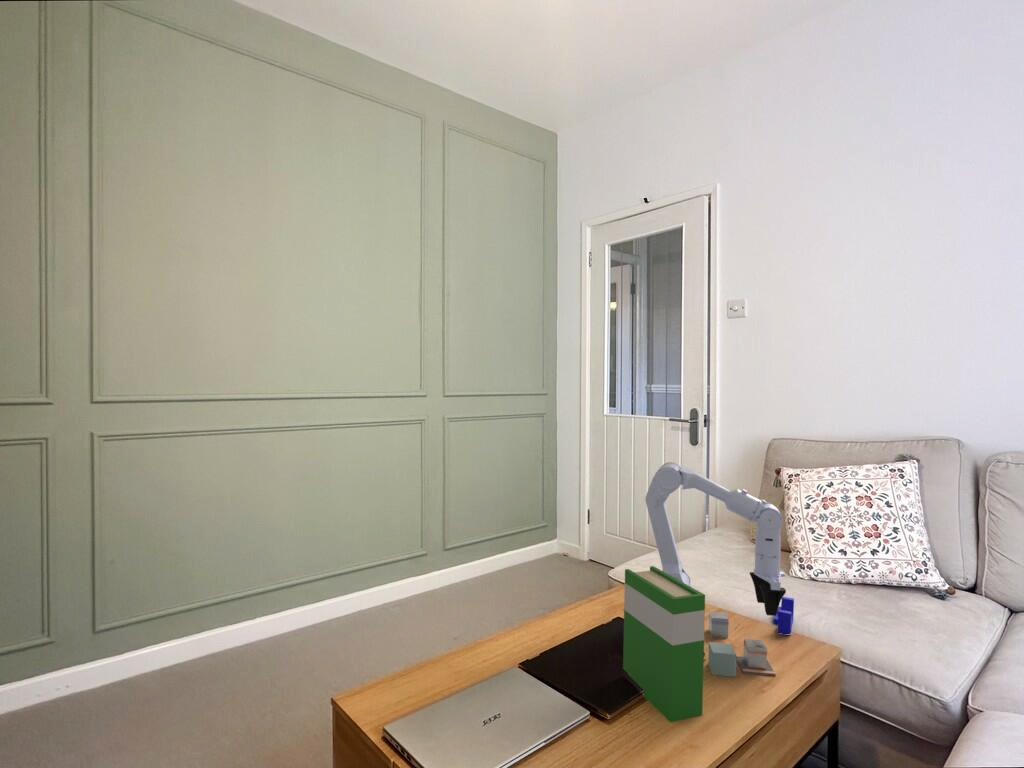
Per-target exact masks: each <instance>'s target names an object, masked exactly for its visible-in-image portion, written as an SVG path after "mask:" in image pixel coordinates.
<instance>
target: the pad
mask: <svg viewBox="0 0 1024 768" xmlns="http://www.w3.org/2000/svg"><path fill="white" fill-rule="evenodd" d="M736 659H737V660H736V663H737V664H738V666H739V668H740V670H741V672H742V673H743V674H751V675H763V676H770V677H771V676H772V677H776V672H775V671H774V669H773V667H772V665H771V663H770V662H769V660H768V659H767V662H766V670H761V669H750V668H747V666H746V664H745V662H744V656H738V655H736Z"/></svg>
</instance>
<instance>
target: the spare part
mask: <svg viewBox="0 0 1024 768" xmlns="http://www.w3.org/2000/svg"><path fill="white" fill-rule="evenodd" d="M767 656H768V648H767V646H766V645H765V643H764V641H763V640H762V639H751V638H743V657H744V662H745V664H746V666H747V668H750V669H761V670H766V662H767V660H768V659H767Z"/></svg>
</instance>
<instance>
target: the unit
mask: <svg viewBox="0 0 1024 768" xmlns="http://www.w3.org/2000/svg"><path fill="white" fill-rule="evenodd" d="M736 656H737V653H736V651H735V649H734V647H733V645H732V643H721V642H710V641H708V658H707V659H708V660H707V664H708V667H709V669H710V672H711V675H713V676H714V675H715V676H725V677H737V660H736Z"/></svg>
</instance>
